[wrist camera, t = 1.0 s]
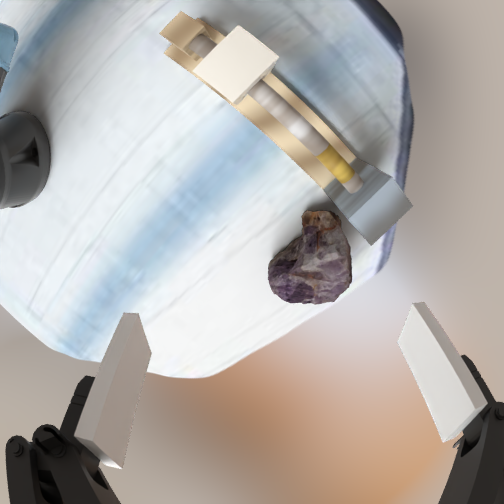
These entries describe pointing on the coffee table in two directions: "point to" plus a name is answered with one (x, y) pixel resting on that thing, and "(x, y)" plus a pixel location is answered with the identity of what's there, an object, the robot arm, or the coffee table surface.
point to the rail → (253, 107)
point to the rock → (313, 262)
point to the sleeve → (236, 64)
